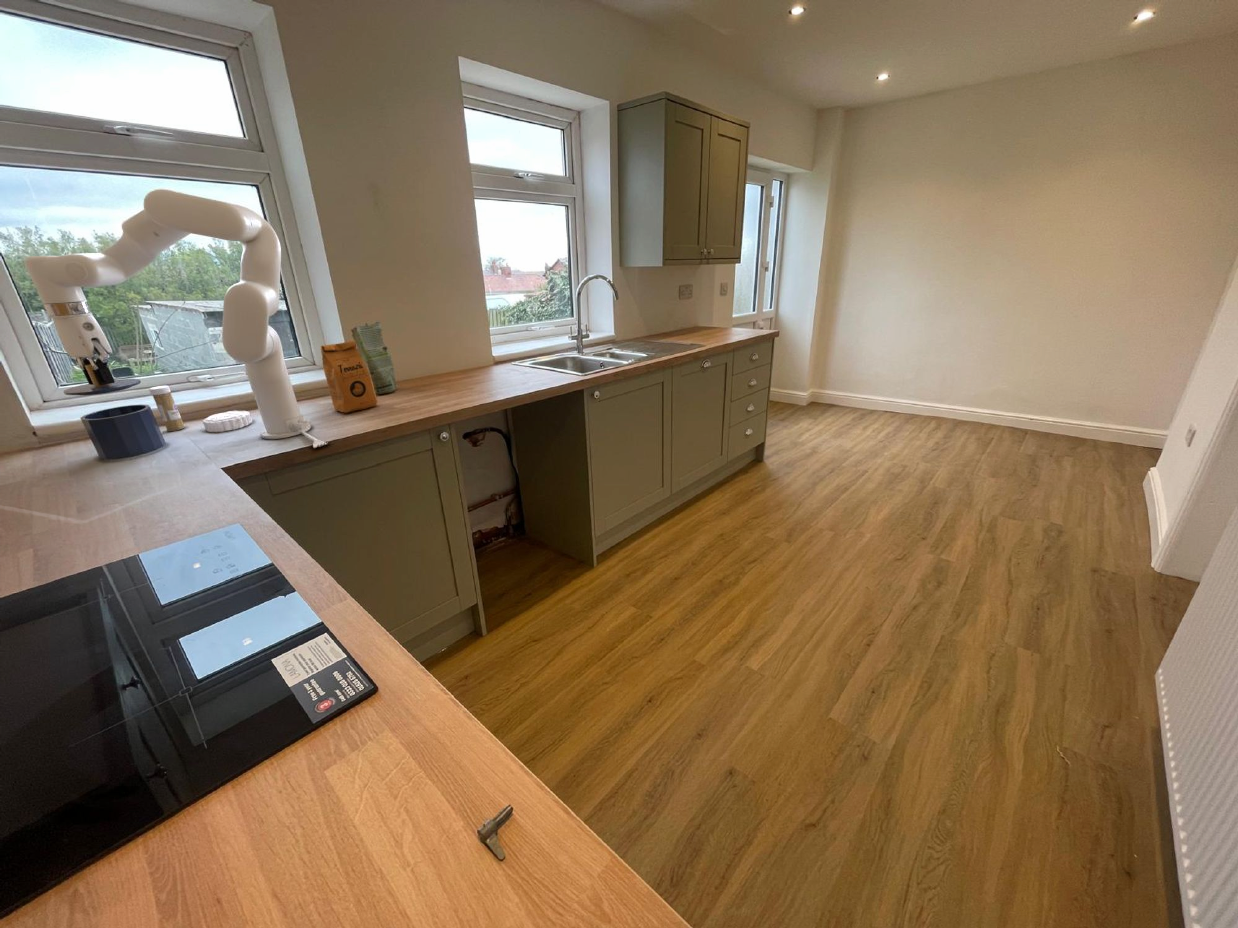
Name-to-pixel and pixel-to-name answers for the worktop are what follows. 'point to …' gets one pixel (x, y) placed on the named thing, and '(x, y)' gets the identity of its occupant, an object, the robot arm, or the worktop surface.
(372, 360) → the pouch
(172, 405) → the sprinkles bottle
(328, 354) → the coffee package
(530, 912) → the worktop surface
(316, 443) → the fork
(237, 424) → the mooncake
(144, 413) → the tin
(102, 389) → the tin lid
